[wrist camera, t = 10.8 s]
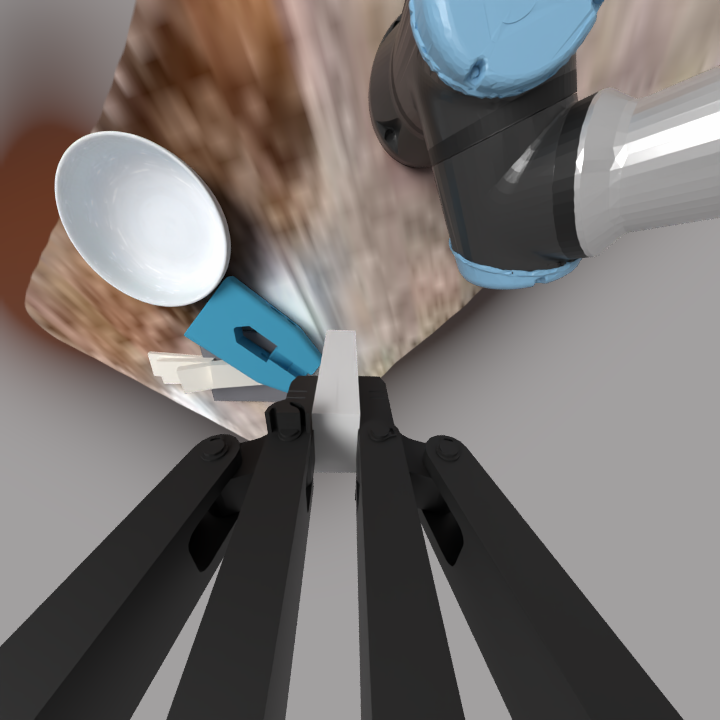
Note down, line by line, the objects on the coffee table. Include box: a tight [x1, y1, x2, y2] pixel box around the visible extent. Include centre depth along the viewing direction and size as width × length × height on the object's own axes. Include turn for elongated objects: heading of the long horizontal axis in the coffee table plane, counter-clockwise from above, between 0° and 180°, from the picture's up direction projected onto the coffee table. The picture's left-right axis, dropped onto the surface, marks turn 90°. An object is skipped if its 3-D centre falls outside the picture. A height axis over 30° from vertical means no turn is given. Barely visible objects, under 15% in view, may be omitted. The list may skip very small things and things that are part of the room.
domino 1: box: [148, 352, 203, 376], centre depth 53 cm, size 2×5×10 cm
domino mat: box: [200, 330, 287, 402], centre depth 54 cm, size 17×16×1 cm
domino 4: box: [210, 361, 263, 389], centre depth 51 cm, size 2×5×10 cm
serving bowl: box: [55, 131, 231, 307], centre depth 39 cm, size 21×21×7 cm
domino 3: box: [176, 360, 223, 394], centre depth 51 cm, size 2×5×10 cm
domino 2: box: [156, 357, 215, 384], centre depth 52 cm, size 2×5×10 cm
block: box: [184, 276, 322, 393], centre depth 47 cm, size 12×5×20 cm
